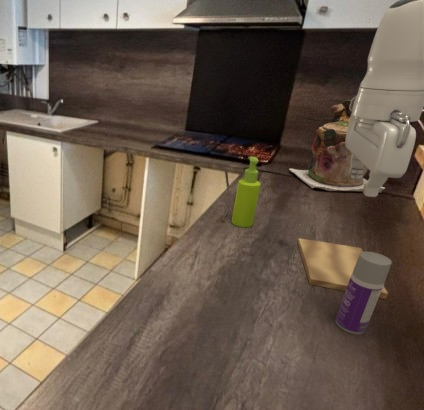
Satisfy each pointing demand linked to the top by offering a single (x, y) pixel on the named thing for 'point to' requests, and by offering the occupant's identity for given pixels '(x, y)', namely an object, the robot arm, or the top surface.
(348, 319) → the container
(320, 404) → the top surface
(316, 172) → the cookie jar
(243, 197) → the soap dispenser
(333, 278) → the cutting board
